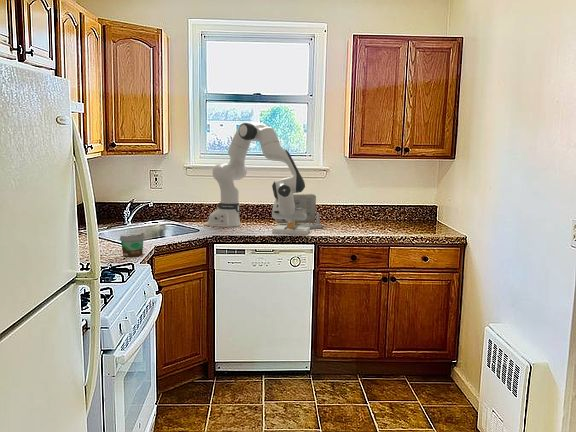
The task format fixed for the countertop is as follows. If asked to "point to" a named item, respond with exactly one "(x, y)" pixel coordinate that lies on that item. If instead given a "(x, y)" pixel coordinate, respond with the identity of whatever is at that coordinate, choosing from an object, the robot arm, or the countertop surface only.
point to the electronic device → (313, 225)
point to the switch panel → (291, 230)
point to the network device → (306, 203)
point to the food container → (132, 245)
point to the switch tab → (291, 224)
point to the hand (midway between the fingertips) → (290, 222)
